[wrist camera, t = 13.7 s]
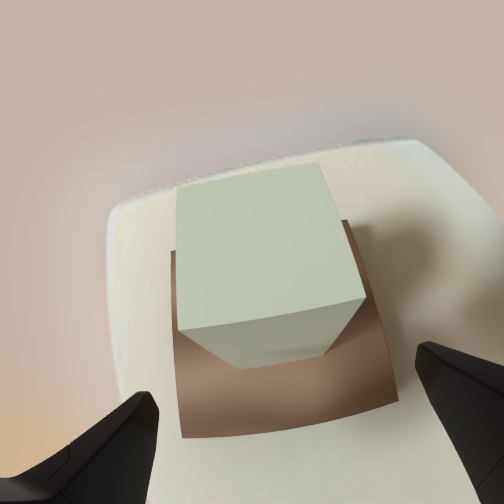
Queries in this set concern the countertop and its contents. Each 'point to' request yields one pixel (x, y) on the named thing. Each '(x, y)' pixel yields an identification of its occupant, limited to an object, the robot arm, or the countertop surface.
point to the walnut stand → (284, 378)
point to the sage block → (264, 267)
